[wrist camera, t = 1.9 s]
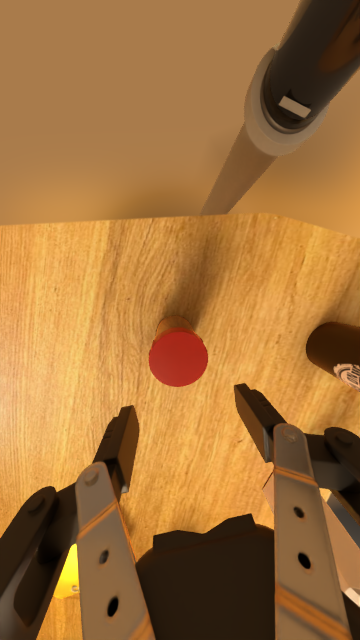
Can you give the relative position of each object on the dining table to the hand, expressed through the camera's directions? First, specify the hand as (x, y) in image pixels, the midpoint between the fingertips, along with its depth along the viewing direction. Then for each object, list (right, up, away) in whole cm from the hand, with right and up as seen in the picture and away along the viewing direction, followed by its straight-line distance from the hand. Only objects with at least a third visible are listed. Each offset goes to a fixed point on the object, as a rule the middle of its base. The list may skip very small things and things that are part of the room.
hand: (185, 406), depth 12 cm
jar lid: (-1, +2, +7) cm, 7 cm away
